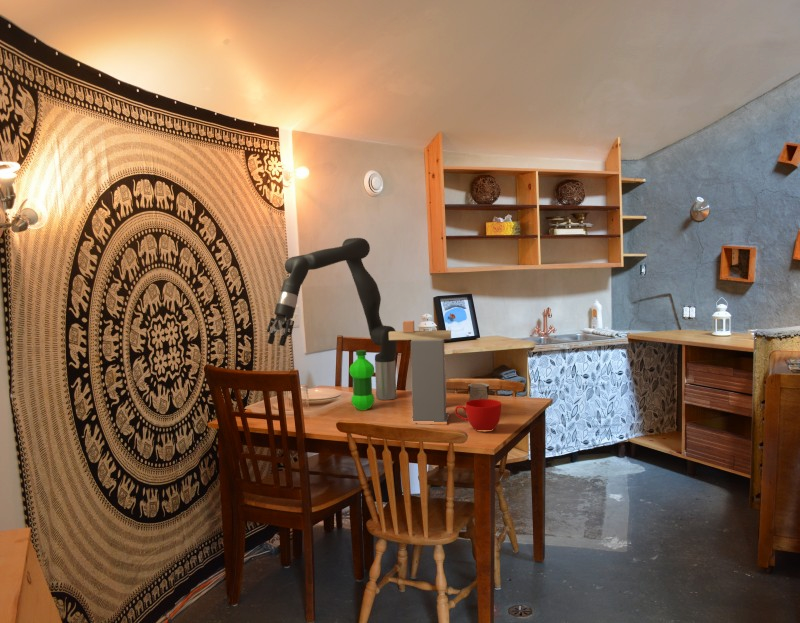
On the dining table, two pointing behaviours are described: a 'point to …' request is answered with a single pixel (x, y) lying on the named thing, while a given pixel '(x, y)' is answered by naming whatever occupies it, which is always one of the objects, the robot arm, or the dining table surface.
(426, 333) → the tan wooden bar
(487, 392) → the coffee mug
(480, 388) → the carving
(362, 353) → the plastic bottle
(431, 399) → the stand
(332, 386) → the dining table surface
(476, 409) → the ceramic cup
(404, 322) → the orange cube
